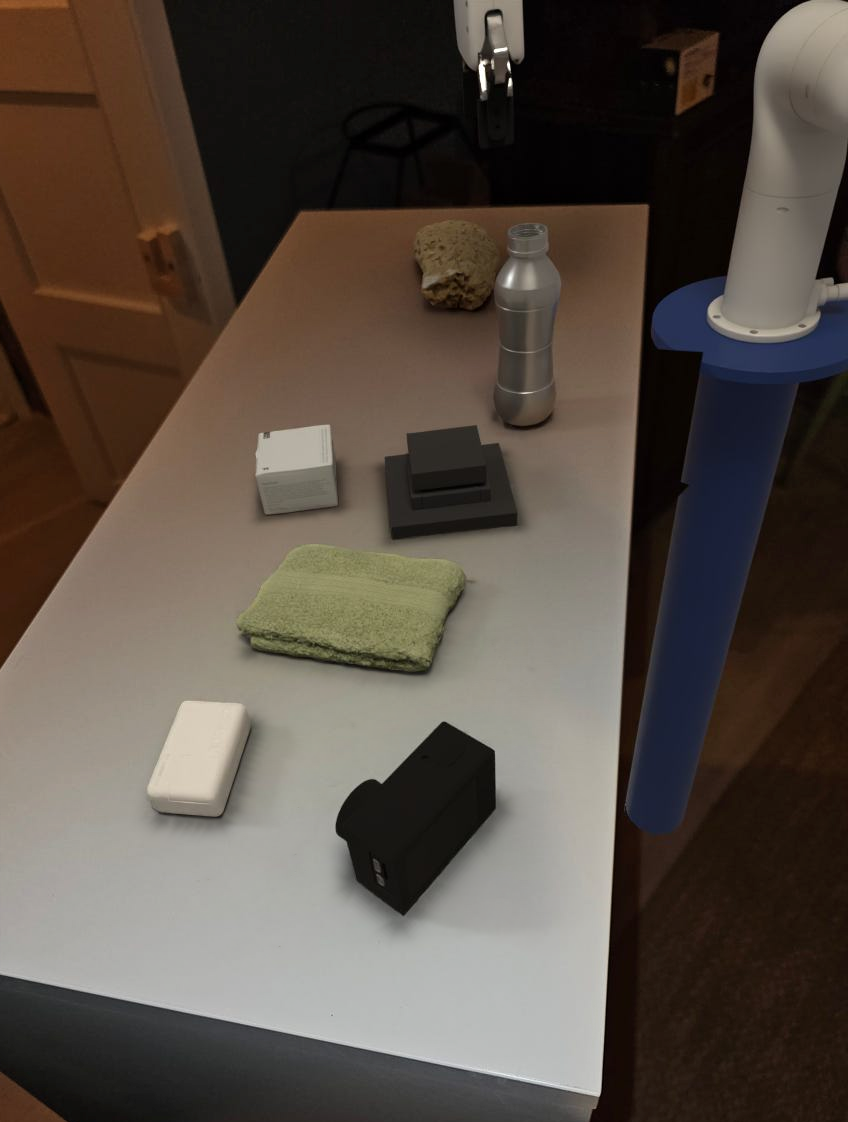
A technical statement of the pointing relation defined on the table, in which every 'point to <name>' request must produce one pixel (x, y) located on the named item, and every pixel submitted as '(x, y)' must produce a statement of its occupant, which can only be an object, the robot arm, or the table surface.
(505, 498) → the base pad
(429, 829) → the digital camera
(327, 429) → the small box
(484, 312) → the table surface
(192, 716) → the soap
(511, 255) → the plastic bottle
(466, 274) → the sponge
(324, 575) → the washcloth
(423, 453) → the top pad
